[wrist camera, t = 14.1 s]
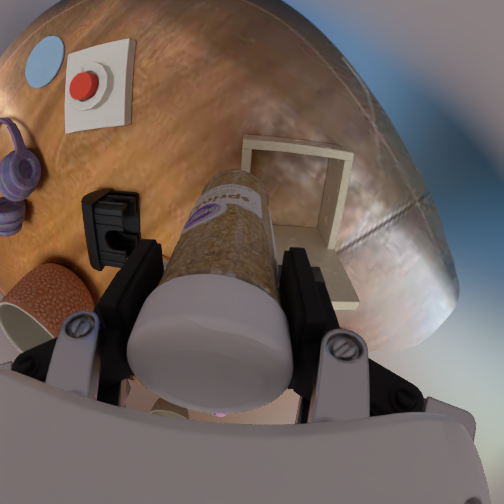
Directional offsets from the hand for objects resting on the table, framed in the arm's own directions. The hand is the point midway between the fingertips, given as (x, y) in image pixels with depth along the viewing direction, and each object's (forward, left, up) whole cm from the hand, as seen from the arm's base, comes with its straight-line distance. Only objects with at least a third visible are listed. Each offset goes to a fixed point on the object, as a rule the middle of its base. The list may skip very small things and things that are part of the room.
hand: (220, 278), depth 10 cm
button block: (-11, -20, -26) cm, 34 cm away
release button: (-11, -20, -22) cm, 32 cm away
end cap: (+9, -18, -26) cm, 33 cm away
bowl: (+58, -15, -26) cm, 66 cm away
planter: (+24, -33, -26) cm, 49 cm away
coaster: (-18, -32, -26) cm, 45 cm away
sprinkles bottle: (0, 0, -9) cm, 9 cm away
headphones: (-1, -42, -26) cm, 49 cm away
